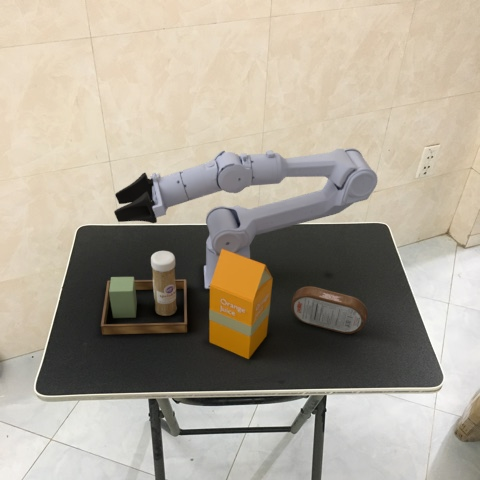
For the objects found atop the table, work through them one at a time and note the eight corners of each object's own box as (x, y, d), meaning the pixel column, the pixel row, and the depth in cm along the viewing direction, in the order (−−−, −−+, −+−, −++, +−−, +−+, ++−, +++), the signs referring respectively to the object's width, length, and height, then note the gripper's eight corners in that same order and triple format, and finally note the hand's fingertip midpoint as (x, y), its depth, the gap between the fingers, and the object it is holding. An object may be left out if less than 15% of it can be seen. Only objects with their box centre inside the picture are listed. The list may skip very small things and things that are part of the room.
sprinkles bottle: (165, 320, 111) (162, 267, 102) (150, 309, 113) (145, 256, 104) (181, 309, 113) (179, 256, 104) (166, 299, 116) (163, 246, 106)
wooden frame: (186, 287, 119) (186, 279, 117) (187, 332, 108) (187, 324, 107) (108, 289, 117) (107, 280, 116) (102, 334, 107) (100, 326, 105)
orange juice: (248, 359, 104) (255, 276, 90) (208, 342, 107) (209, 259, 93) (267, 335, 109) (276, 252, 95) (228, 319, 112) (232, 237, 98)
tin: (363, 330, 111) (372, 298, 105) (360, 340, 109) (369, 309, 103) (291, 311, 114) (296, 280, 109) (287, 321, 112) (292, 289, 106)
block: (137, 303, 114) (134, 276, 110) (135, 317, 111) (132, 291, 106) (114, 303, 114) (111, 276, 109) (113, 318, 111) (109, 291, 106)
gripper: (175, 152, 108) (109, 173, 108) (180, 182, 96) (107, 205, 97) (186, 184, 112) (123, 204, 113) (192, 217, 101) (122, 239, 101)
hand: (116, 207), depth 105 cm, fingers open, 7 cm apart
